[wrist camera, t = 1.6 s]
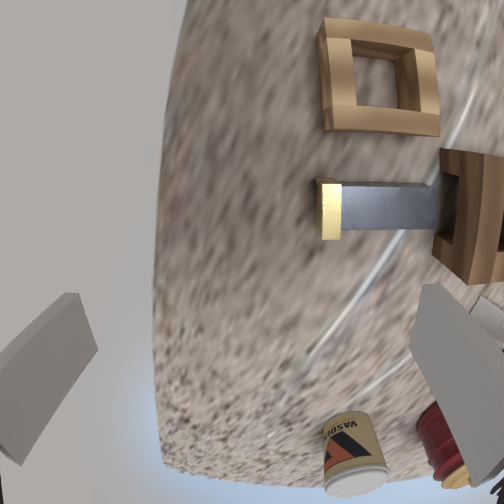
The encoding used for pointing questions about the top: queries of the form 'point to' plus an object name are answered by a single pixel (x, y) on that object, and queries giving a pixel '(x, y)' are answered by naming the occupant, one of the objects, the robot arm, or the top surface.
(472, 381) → the robot arm
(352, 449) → the coffee cup
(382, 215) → the bar
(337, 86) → the wooden square frame
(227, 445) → the top surface
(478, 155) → the socket block
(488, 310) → the skyscraper
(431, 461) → the canister
